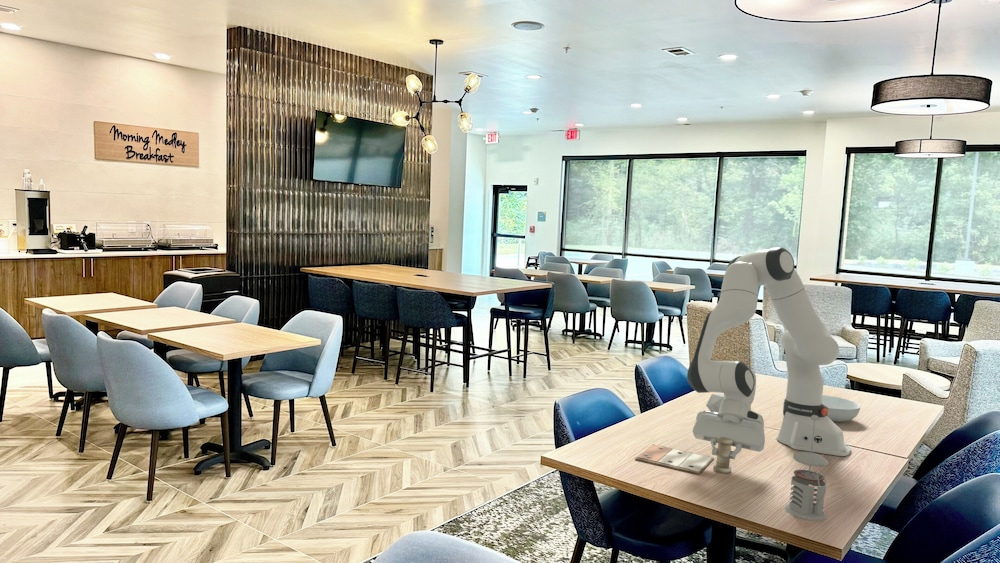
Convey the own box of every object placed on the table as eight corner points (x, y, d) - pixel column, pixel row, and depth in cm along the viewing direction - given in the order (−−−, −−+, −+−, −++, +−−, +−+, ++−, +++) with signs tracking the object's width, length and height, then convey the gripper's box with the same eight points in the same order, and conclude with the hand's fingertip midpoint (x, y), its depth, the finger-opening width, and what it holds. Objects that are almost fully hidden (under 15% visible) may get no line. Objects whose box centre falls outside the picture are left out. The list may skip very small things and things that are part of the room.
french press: (815, 505, 178) (824, 410, 176) (838, 524, 166) (848, 423, 164) (777, 503, 178) (786, 408, 176) (798, 523, 166) (808, 422, 164)
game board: (713, 459, 210) (714, 456, 210) (699, 474, 195) (699, 472, 195) (653, 445, 219) (653, 443, 219) (635, 459, 205) (635, 457, 205)
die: (729, 421, 257) (739, 399, 260) (709, 408, 256) (720, 386, 260) (718, 422, 264) (727, 401, 268) (699, 410, 264) (709, 389, 267)
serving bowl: (789, 415, 267) (791, 398, 267) (813, 408, 281) (815, 392, 281) (845, 429, 252) (847, 411, 251) (867, 421, 266) (869, 404, 265)
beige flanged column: (732, 470, 201) (735, 439, 200) (729, 474, 197) (731, 443, 196) (715, 466, 204) (718, 435, 203) (711, 470, 199) (714, 439, 199)
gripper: (697, 404, 210) (685, 443, 202) (768, 417, 200) (758, 458, 192) (700, 415, 214) (688, 453, 207) (769, 428, 204) (760, 469, 196)
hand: (723, 456), depth 199 cm, fingers closed on beige flanged column, 4 cm apart
